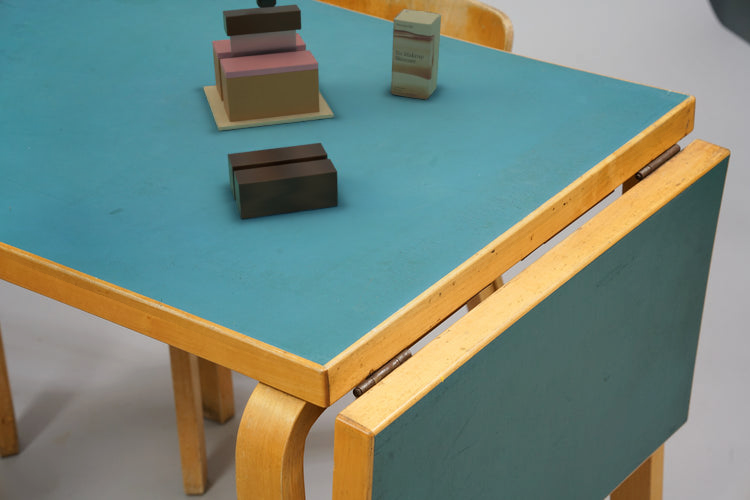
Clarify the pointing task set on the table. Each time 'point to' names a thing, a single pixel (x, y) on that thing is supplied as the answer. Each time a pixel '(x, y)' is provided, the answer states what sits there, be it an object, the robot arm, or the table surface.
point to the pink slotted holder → (265, 88)
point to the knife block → (282, 180)
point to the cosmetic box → (415, 53)
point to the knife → (262, 30)
